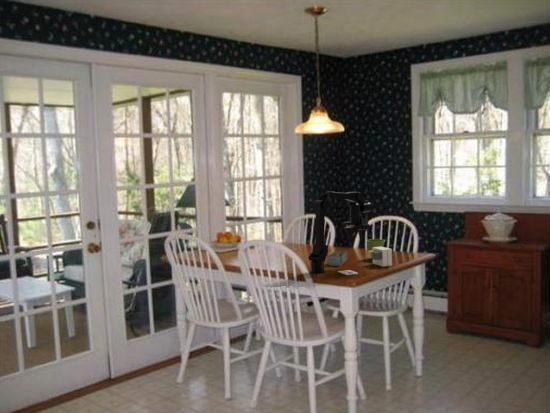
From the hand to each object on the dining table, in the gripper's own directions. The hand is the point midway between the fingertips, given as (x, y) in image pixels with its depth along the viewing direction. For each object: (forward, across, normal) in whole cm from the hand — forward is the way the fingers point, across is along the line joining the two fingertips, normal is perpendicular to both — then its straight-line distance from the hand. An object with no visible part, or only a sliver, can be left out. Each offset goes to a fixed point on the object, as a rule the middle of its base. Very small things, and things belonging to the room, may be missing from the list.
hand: (355, 240), depth 328 cm
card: (+15, -13, +17) cm, 26 cm away
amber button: (+11, -4, -8) cm, 14 cm away
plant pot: (+15, +9, -24) cm, 29 cm away
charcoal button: (+11, -10, -7) cm, 16 cm away
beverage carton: (+15, +14, +2) cm, 21 cm away
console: (+15, -8, -13) cm, 21 cm away
